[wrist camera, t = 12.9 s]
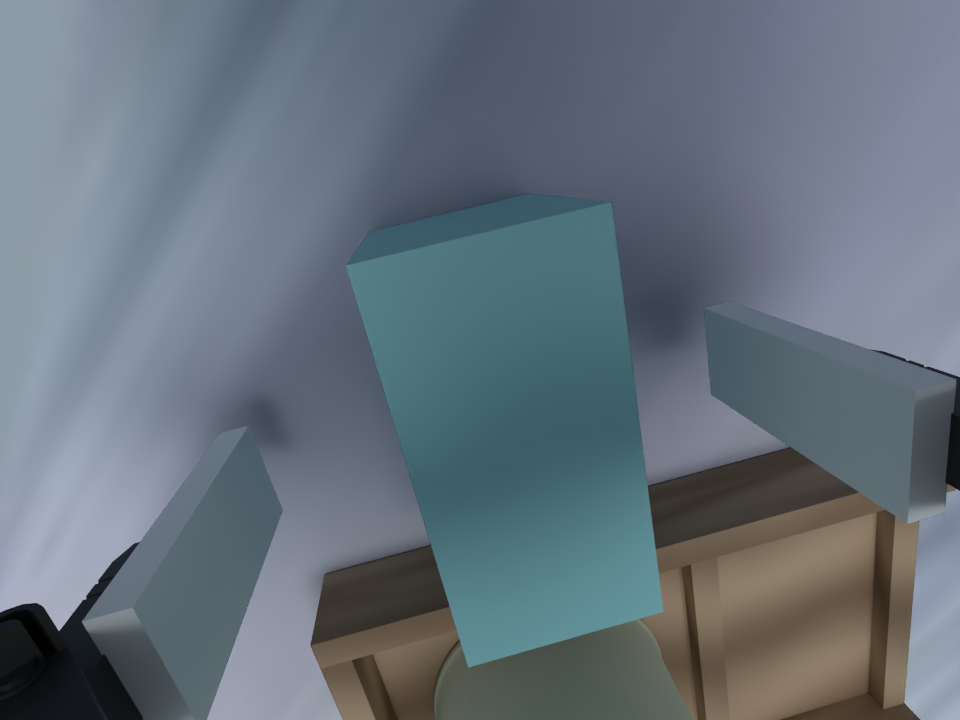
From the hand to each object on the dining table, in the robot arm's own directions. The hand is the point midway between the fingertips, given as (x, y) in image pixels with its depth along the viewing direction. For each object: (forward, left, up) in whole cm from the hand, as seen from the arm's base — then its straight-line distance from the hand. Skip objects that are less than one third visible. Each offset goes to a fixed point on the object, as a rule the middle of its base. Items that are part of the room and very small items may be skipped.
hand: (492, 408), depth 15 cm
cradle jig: (+13, +4, -3) cm, 14 cm away
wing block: (0, 0, -3) cm, 3 cm away
